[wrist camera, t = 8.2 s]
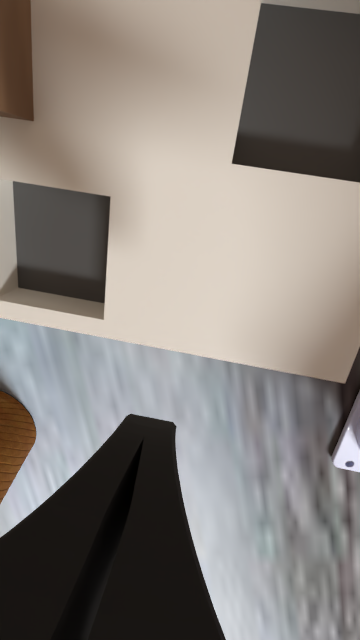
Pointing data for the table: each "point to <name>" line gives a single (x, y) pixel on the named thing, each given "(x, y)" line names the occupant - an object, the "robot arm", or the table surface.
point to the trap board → (190, 179)
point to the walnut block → (16, 60)
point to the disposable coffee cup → (13, 439)
